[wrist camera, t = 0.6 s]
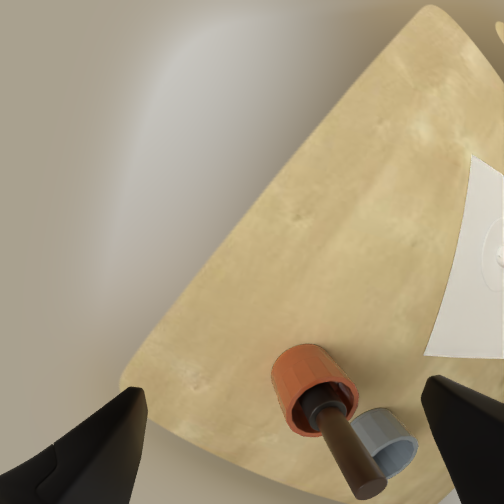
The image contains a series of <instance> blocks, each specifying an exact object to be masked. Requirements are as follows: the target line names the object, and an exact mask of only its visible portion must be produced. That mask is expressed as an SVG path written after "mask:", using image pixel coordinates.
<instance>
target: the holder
mask: <svg viewBox="0 0 504 504" xmlns="http://www.w3.org/2000/svg"><path fill="white" fill-rule="evenodd" d="M271 380H272V384H273V387H274V389H275V392H276V395H277V397H278V401H279V404H280V407H281V409H282V412H283V414H284V417H285V419H286V422H287V424H288V425H289V427H290V428H291V430H292V431H294V432H296V433H297V434H299V435H301V436H306V437H319V436H322V434H321V432H320V431H317V430H314V429H313V428H312V427H311V426H310V424H309V422H308V420H307V418H306V416H305V414H304V412H303V410H302V407H301V405H300V403H299V401H298V398H299V397H300V396H301V395H302V394H303V393H304V392H305V391H306V390H307V389H309V388H311V387H313V386H315V385H317V384H319V383H324V382H329V383H330V385H331V386H332V388H333V389H334V391H335V392H336V393H337V395H338V396H339V398H340V399H341V401H342V402H343V403H344V405H345V406H346V410H347V413H346V419H347V420H348V421H349V420H350V419H351V418H352V416H353V414H354V412H355V410H356V409H357V407H358V399H359V393H358V391H357V389H356V386H355V384H354V383H353V382H352V381H351V380H350V378H349V377H348V376H347V375H346V374H345V372H344V371H343V370H342V369H341V367H340V366H339V365H338V364H336V362H335V361H334V360H333V359H332V358H331V356H330V355H329V354H328V353H327V352H326V351H325V350H324V349H323V348H321V347H319V346H316V345H312V344H302V345H298V346H295V347H292V348H290V349H288V350H287V351H285V352H284V353H283V354H282V355H281V356H280V357H279V358H278V359H277V360H276V362H275V364H274V366H273V368H272V372H271Z"/></svg>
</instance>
